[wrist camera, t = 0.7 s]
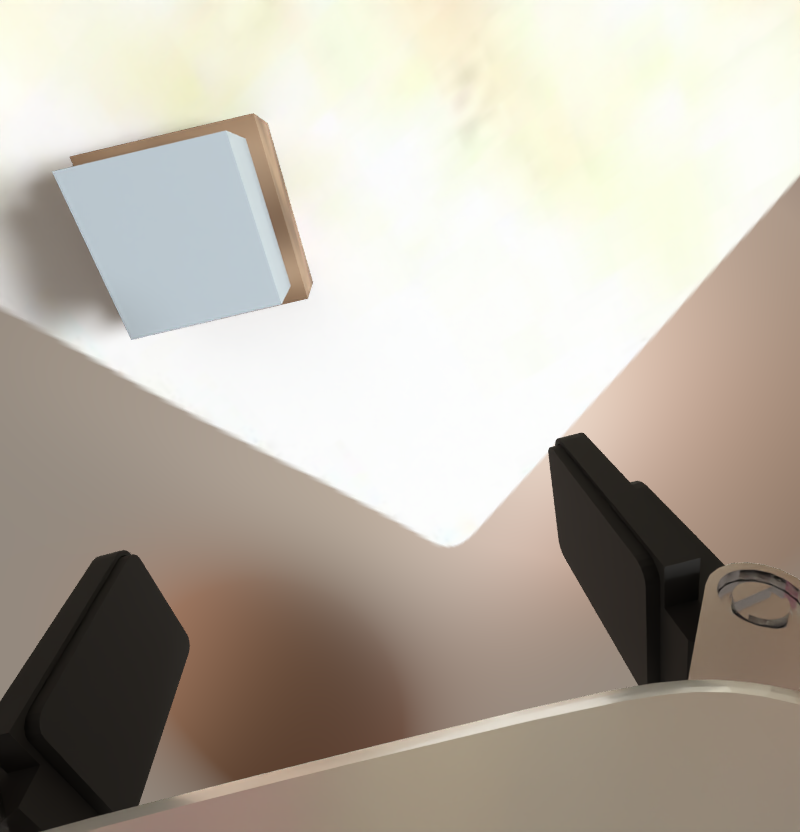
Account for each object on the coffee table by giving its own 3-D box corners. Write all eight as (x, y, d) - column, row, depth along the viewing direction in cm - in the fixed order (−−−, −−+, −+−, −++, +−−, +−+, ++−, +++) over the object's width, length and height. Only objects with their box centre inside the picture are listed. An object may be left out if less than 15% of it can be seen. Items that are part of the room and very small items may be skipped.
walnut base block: (113, 160, 31) (69, 156, 26) (268, 123, 31) (253, 113, 26) (177, 313, 36) (150, 335, 31) (313, 281, 36) (307, 298, 31)
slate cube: (100, 172, 27) (51, 171, 22) (245, 138, 27) (225, 130, 22) (162, 315, 30) (131, 339, 26) (290, 285, 30) (281, 304, 26)
